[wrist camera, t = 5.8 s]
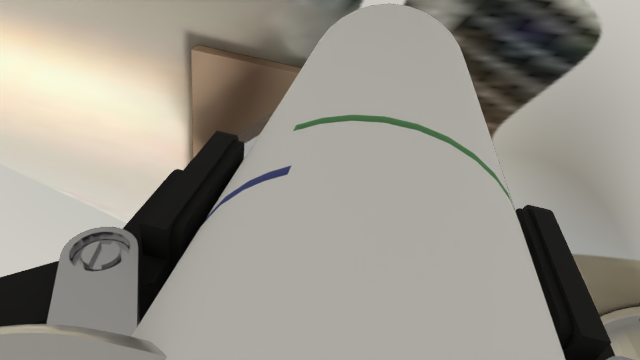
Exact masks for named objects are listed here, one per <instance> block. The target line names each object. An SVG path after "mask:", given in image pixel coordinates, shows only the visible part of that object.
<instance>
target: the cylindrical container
mask: <svg viewBox="0 0 640 360" xmlns="http://www.w3.org/2000/svg"><path fill="white" fill-rule="evenodd" d="M131 337H135V338H139V339H143V340H147V341H150V342H152V343H153V344H154V345H155V346H156V347H158V348H159V349H160V350H161V351H162V352H163V353H164V354H165V355H166V356H167V358H166V360H566V359H565V357H564V354H563V351H562V348H561V345H560V342H559V339H558V336H557V333H556V330H555V327H554V324H553V321H552V318H551V315H550V312H549V309H548V306H547V303H546V300H545V297H544V294H543V291H542V288H541V285H540V282H539V279H538V276H537V273H536V270H535V267H534V264H533V261H532V258H531V255H530V252H529V249H528V246H527V243H526V241H525V238H524V235H523V232H522V229H521V226H520V223H519V220H518V218H517V214H516V211H515V208H514V205H513V202H512V199H511V196H510V193H509V190H508V187H507V184H506V181H505V178H504V176H503V172H502V169H501V166H500V163H499V160H498V157H497V154H496V151H495V148H494V146H493V143H492V140H491V137H490V134H489V131H488V128H487V125H486V122H485V119H484V116H483V113H482V110H481V107H480V104H479V101H478V98H477V95H476V92H475V89H474V86H473V83H472V80H471V77H470V74H469V71H468V68H467V65H466V62H465V60H464V57H463V54H462V52H461V49H460V46H459V45H458V43H457V41H456V40H455V38H454V37H453V35H452V34H451V32H450V31H449V30H448V29H447V28H446V27H445V26H444V25H443V24H442V23H441V22H440V21H438V20H437V19H435V18H433V17H432V16H430V15H429V14H427V13H425V12H423V11H421V10H418V9H415V8H412V7H409V6H404V5H396V4H381V5H372V6H368V7H365V8H362V9H359V10H355V11H354V12H352V13H350V14H348V15H346V16H344V17H343V18H341V19H340V20H339V21H337V22H336V23H335V24H334V25H332V26H331V27H330V28H329V29H328V30H327V32H326V33H325V34H324V35H323V37H322V38H321V39H320V40H319V42H318V43H317V45H316V47H315V48H314V50H313V51H312V53H311V55H310V56H309V58H308V59H307V61H306V63H305V64H304V66H303V67H302V69H301V71H300V72H299V74H298V75H297V77H296V78H295V80H294V82H293V83H292V85H291V86H290V88H289V90H288V91H287V93H286V94H285V96H284V97H283V99H282V101H281V102H280V104H279V105H278V107H277V108H276V110H275V111H274V113H273V115H272V116H271V118H270V119H269V121H268V122H267V124H266V126H265V127H264V129H263V130H262V132H261V133H260V135H259V137H258V138H257V140H256V141H255V143H254V144H253V146H252V147H251V149H250V151H249V152H248V154H247V155H246V157H245V158H244V160H243V162H242V163H241V165H240V166H239V168H238V169H237V171H236V172H235V174H234V176H233V177H232V179H231V180H230V182H229V183H228V185H227V187H226V188H225V190H224V191H223V193H222V194H221V196H220V197H219V199H218V201H217V202H216V204H215V205H214V207H213V208H212V210H211V212H210V213H209V215H208V216H207V218H206V220H205V222H204V224H203V225H202V226H201V227H200V229H199V230H198V232H197V234H196V235H195V237H194V238H193V240H192V241H191V243H190V245H189V246H188V248H187V249H186V251H185V253H184V254H183V256H182V257H181V259H180V260H179V262H178V264H177V265H176V267H175V268H174V270H173V271H172V273H171V275H170V276H169V278H168V279H167V281H166V283H165V284H164V286H163V287H162V289H161V290H160V292H159V294H158V295H157V297H156V298H155V300H154V301H153V303H152V305H151V306H150V308H149V309H148V311H147V313H146V314H145V316H144V317H143V319H142V320H141V322H140V324H139V325H138V327H137V328H136V330H135V331H134V333H133V335H132V336H131Z"/></svg>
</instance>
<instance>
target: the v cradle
mask: <svg viewBox="0 0 640 360" xmlns="http://www.w3.org/2000/svg"><path fill="white" fill-rule="evenodd" d="M191 66H192V120H193V158H194V157H195V156H196V155H197V153H198V152H199V151H200V150H201V149H202V147H203V146H204V145H205V144H206V143H207V141H208V140H209V139H210V138H211V137H212V135H213V134H214V133H215V132H216V131H222V132H226V133H230V134H235V135H238V138H239V141H241V142H244V145H245V146H244V158H245V157H246V155H247V154H248V152H249V151H250V149H251V147H252V146H253V144H254V143H255V141H256V140H257V138H258V137H259V135H260V133H261V132H262V130H263V129H264V127H265V126H266V124H267V122H268V121H269V119H270V118H271V116H272V115H273V113H274V111H275V110H276V108H277V107H278V105H279V104H280V102H281V101H282V99H283V97H284V96H285V94H286V93H287V91H288V90H289V88H290V86H291V85H292V83H293V82H294V80H295V78H296V77H297V75H298V74H299V72H300V71H301V69H302V68H299V67H295V66H290V65H286V64H281V63H277V62H272V61H268V60H263V59H259V58H254V57H249V56H245V55H240V54H236V53H231V52H227V51H222V50H218V49H213V48H209V47H204V46H200V45H196V46H195V47H194V48H193V49H191Z"/></svg>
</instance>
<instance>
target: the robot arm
mask: <svg viewBox="0 0 640 360" xmlns="http://www.w3.org/2000/svg"><path fill="white" fill-rule="evenodd" d="M244 146H245V145H244V142H241V141H239V138H238V135H235V134H230V133H226V132H222V131H216V132H215V133H214V134H213V135H212V137H211V138H210V139H209V140H208V141H207V143H206V144H205V145H204V146H203V147H202V149H201V150H200V151H199V152H198V153H197V155H196V156H195V157H194V158H193V159H192V161H191V162H190V163H189V164H188V165H187V167H186V168H185V169H184V170H179V169H177V170H174V171H173V172H172V173H171V174H170V175H169V176H168V177H167V178H166V180H165V181H164V182H163V183H162V184H161V185H160V187H159V188H158V189H157V190H156V191H155V192H154V193H153V195H152V196H151V197H150V198H149V199H148V200H147V201H146V203H145V204H144V205H143V206H142V207H141V208H140V210H139V211H138V212H137V213H136V214H135V215H134V216H133V218H132V219H131V220H130V221H129V222H128V223H127V225H126V226H125V227H124V228H123V229H120V228H116V227H100V228H94V229H90V230H87V231H85V232H82V233H80V234H78V235H77V236H75V237H74V238H72V239H71V240H70V241H69V242H68V243H67V244H66V245H65V246H64V248H63V250H62V252H61V255H60V259H59V261H57V262H53V263H50V264H46V265H43V266H39V267H35V268H32V269H29V270H25V271H21V272H18V273H14V274H11V275H7V276H4V277H1V278H0V360H166V358H167V356H166V355H165V354H164V353H163V352H162V351H161V350H160V349H159V348H158V347H156V346H155V345H154V344H153V343H152V342H150V341H147V340H143V339H139V338H135V337H131V336H132V335H133V333H134V331H135V330H136V328H137V327H138V325H139V324H140V322H141V320H142V319H143V317H144V316H145V314H146V313H147V311H148V309H149V308H150V306H151V305H152V303H153V301H154V300H155V298H156V297H157V295H158V294H159V292H160V290H161V289H162V287H163V286H164V284H165V283H166V281H167V279H168V278H169V276H170V275H171V273H172V271H173V270H174V268H175V267H176V265H177V264H178V262H179V260H180V259H181V257H182V256H183V254H184V253H185V251H186V249H187V248H188V246H189V245H190V243H191V241H192V240H193V238H194V237H195V235H196V234H197V232H198V230H199V229H200V227H201V226H202V225H203V224H204V222H205V220H206V218H207V216H208V215H209V213H210V212H211V210H212V208H213V207H214V205H215V204H216V202H217V201H218V199H219V197H220V196H221V194H222V193H223V191H224V190H225V188H226V187H227V185H228V183H229V182H230V180H231V179H232V177H233V176H234V174H235V172H236V171H237V169H238V168H239V166H240V165H241V163H242V162H243V160H244ZM516 214H517V218H518V220H519V223H520V226H521V229H522V232H523V235H524V238H525V241H526V243H527V246H528V249H529V252H530V255H531V258H532V261H533V264H534V267H535V270H536V273H537V276H538V279H539V282H540V285H541V288H542V291H543V294H544V297H545V300H546V303H547V306H548V309H549V312H550V315H551V318H552V321H553V324H554V327H555V330H556V333H557V336H558V339H559V342H560V345H561V348H562V351H563V354H564V357H565V359H566V360H640V307H631V308H626V309H621V310H617V311H614V312H611V313H608V314H605V315H603V316H601V317H600V316H599V314H598V312H597V309H596V307H595V305H594V303H593V301H592V298H591V296H590V294H589V292H588V289H587V287H586V285H585V283H584V281H583V278H582V276H581V274H580V272H579V269H578V267H577V265H576V263H575V261H574V258H573V256H572V254H571V252H570V250H569V247H568V245H567V243H566V241H565V238H564V236H563V234H562V232H561V230H560V227H559V225H558V223H557V221H556V218H555V216H554V214H553V212H552V211H551V210H548V209H544V208H539V207H535V206H531V205H527V206H525V207H524V208H523V209H517V210H516Z"/></svg>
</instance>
